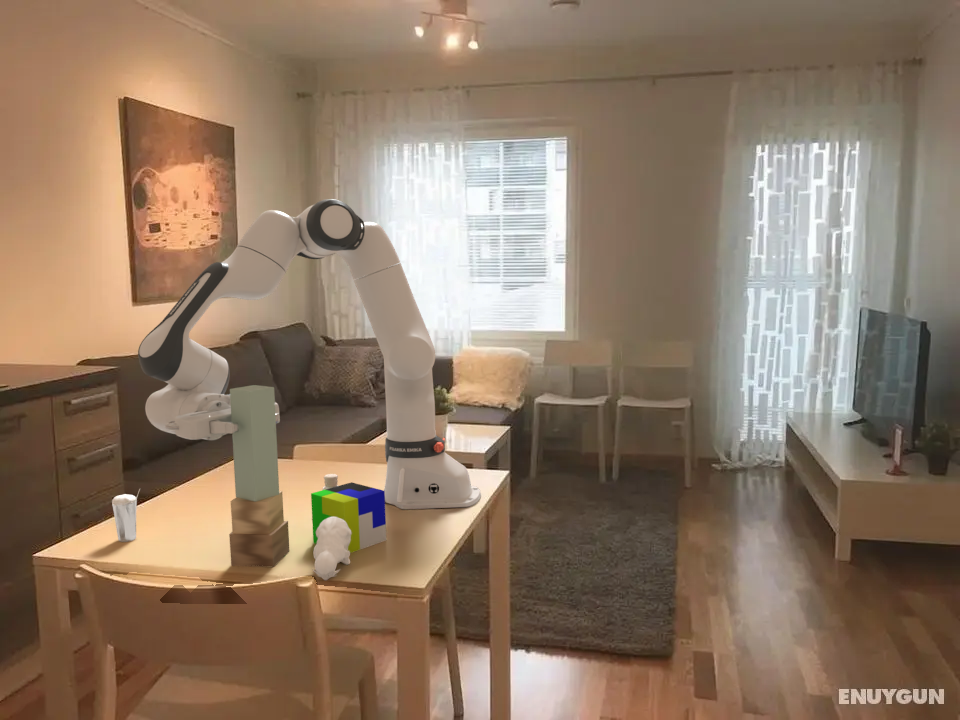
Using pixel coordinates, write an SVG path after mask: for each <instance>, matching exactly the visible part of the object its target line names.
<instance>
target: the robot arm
mask: <svg viewBox="0 0 960 720" xmlns="http://www.w3.org/2000/svg"><path fill="white" fill-rule="evenodd" d="M335 254H336V255H338V256H339V257H341V259H343V260H344V262H345V263H346V264H347V266H348V268H349V270H350V274H351V277H352V279H353V282H354V284H355V286H356V290H357V292H358V294H359V297H360V300H361V303H362V305H363V308H364V310H365V312H366V313H365V314H366V315H367V317H368V320H369V323H370V325H371V328H372V331H373V334H374V336H375V339H376V341H377V343H378V347H379V349H380V352H381V355H382V357H383V368H384V371H383V372H384V390H385V392H384V393H385V411H386V412H385V413H386V414H385V415H386V437H385V438H384V439H385V443H384V451H385V453H384V456H385V460H386V475H385V484H384V489H383V491H385V503H387V504H389V505H392V506H396V507H397V508H398V509H401V510H419V509H420V510H421V509H441V508H442V509H443V508H445V509H446V508H465V507H467V508H468V507H471V506H473V505H475V504H477V503H478V501H480V498H481V496H482V495H481V490H480V488H479V487H477V486H475V485H472V483H471V477H470V474H469V472H468V471H469V470H468V469H467V467H466V466H465V465H463V464H462V463H460V462H459V461H457V460H456V459H454V458H453V457H452V456H451V455H449V454H448V453H446V452H445V451H446V438H445V437H442V438H441V437H440V436H438V435H437V433H436V432H437V431H436V405H435V404H436V401H435V400H436V399H435V391H434V380H433V378H434V377H433V368H434V367H433V366H434V365H435V361H436V349H435V346H434V344H433V341H432V339H431V336H430V333H429V331H428V329H427V326H426V324H425V322H424V319H423V317H422V313H421V312H420V309H419V307H418V304H417V302H416V299H415V297H414V294H413V292H412V289H411V287H410V284H409V282H408V279H407V276H406V274H405V271H404V269H403V266H402V263H401V260H400V258H399V255H398V254H397V252H396V249H395V247H394V245H393V243H392V241H391V239H390V237H389V236H388V234H387V233H386V231H385V230H384V228H383V227H382V226H381V225H380V224H379V223H378V222H373V221H364V220H363V219H362V218H361V217H360V216H359V215H357V213H356V212H355V211H354V209H352V208H351V207H350V206H349V205H348V204H347V203H345V202H343V201H341V200H338V199H336V198H335V199H333V198H330V199H329V198H328V199H327V198H326V199H322V200H319V201H318V202H316V203H314V204H312V205H309V206H308V207H306V208H305V209H304V210H303V211H302V212H301V213H299V214H298V215H297V216H290V215H288V214H287V213H285V212H283V211H280V210H277V209H276V210H274V209H269V210H268V209H267V210H265V211H263V212H262V213H260V214H259V215H258V216H257V217H256V218H255V220H254V221H253V222H252V224H251V225H250V226H249V227H248V229H247V230H246V232H245V233H244V234H243V236H242V237H241V239H240V241H239V242H238V244H237V245H236V248H235V249H234V250H233V252H232V253H231V254H230V255H229V256H228V257H227V258H226V259H224V260H223V261H221V262H220V261H219V262H213V263H211V264H210V265H208V266H207V267H206V268H205V269H204V270H203V271H202V272H201V273H200V274H199V275H198V276H197V278H196V279H195V280H194V281H193V282H192V283H191V285H190V286H189V287H188V288H187V289H186V291H185V292H184V293H183V295H182V296H181V297H180V298H179V300H178V301H177V302H176V303H175V305H174V306H173V307H172V308H171V310H170V311H168V313H167V314H166V316H165V317H164V318H163V319H162V320H161V321H160V322H159V323H158V324H157V325H156V326H155V327H154V328H153V329H152V330H151V331H150V332H149V333H148V334H147V335H146V336H145V337H144V338H143V339H142V341H141V342H140V344H139V347H138V350H137V357H138V361H139V366H140V368H141V371H142V372H143V373H144V374H145V375H146V376H148V377H150V378H153V379H155V380H158V381H161V382H165V383H167V385H166V386H164V387H163V388H161V389H159V390H157V391H154V392H152V393H151V394H150V395H149V397H147V399H146V402H145V408H144V410H145V415H146V417H147V420H148V421H149V423H150V424H151V425H152V426H154V427H155V428H156V429H158V430H160V431H162V432H165V433H169V434H173V435H176V437H180V438H182V439H186V440H191V441H192V440H193V441H194V440H196V441H197V440H206V441H216V440H219V439H220V438H222V437H223V436H225V435H228V434H232V433H236V432H238V431H239V428H238V427H239V424H238V423H237V422H232V419H231V401H230V393H229V394H228V393H227V394H225V393H226V392H227V389H228V387H229V383H230V375H231V374H230V373H231V371H230V370H231V369H230V365H229V362H228V361H227V359H226V358H225V357H223V356H222V355H219V354H218V353H216V352H215V351H213V350H211V349H209V348H208V347H205V346H203V345H202V344H200V343H198V342H196V341H195V340H194V339H191V338H190V333H191V331H192V330H193V328H194V327H195V325H196V324H197V323H198V322H199V321H200V320H201V318H202V316H203V315H204V314H205V313H206V312H207V310H208V309H209V308H210V306H212V304H213V303H214V302H216V301H218V300H220V299H222V298H233V299H239V300H245V301H256V300H257V301H259V300H263V299H265V298H267V297H269V296H271V295H273V294H274V292H276V290H277V289H278V287H279V286H280V284H281V282H282V280H283V279H284V277H285V275H286V274H287V270H288V268H289V267H290V265H291V263H292V261H294V258H295V257H296V256H298V257H301V258H302V257H303V258H305V259H309V260H310V259H311V260H321V259H324V258H327V257H331V256H334V255H335ZM275 415H276V424H279V423H280V421H281V419H280V418H281V417H280V406H279V403H277V402H276V401H275Z"/></svg>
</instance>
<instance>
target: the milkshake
mask: <svg viewBox="0 0 960 720" xmlns="http://www.w3.org/2000/svg"><path fill="white" fill-rule="evenodd" d="M140 491H141V488H139V489H138V492H137V495H136V496H135V495H133V494H128V493H123V494H120V495H116V496H114V497H113V499H112V500H111V503H112V505H111V506H112V510H113V515H114V523H115V526H116V529H115V530H116V535H117V540H118V542H120V543H127V542H133V541H135V540H136V538H137V502H138V500H137V499H138V496H139V493H140Z"/></svg>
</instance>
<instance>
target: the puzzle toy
mask: <svg viewBox="0 0 960 720" xmlns="http://www.w3.org/2000/svg"><path fill="white" fill-rule="evenodd" d="M310 497H311V498H310V501H311V521H312V539H313V541H312V543H313V544H315V545H316V544H317V540H318V538H317V536H316V530H317V528H318V527H319V525H320V523H321V522H322V521H323V520H325V519H327V518H329V517H338V518H340V519H343V520H344V521H345V522H346V523H347V525H348V527H349V529H350V530H351V541H350V544H349V546H348V551H350V554H351V553H355V552H356V551H360V550H364V549H367V548H368V547H372V546H373V545H377V544H380V543H383V542H386V541H387V523H386V521H387V520H386V502H385V491H384V489H380V488H375V487H371V486H368V485H362V484H360V483H355V482H353V481H352V482H351V481H350V482H348V483H345V484H341V485H337V486H336V487H333V488H329V489H326V490H319V491H315V492H312V493H310Z"/></svg>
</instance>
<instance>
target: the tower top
mask: <svg viewBox="0 0 960 720" xmlns="http://www.w3.org/2000/svg"><path fill="white" fill-rule="evenodd" d="M283 499H284V498H283V490H279V495H276V496H272V497H269V498H266V499H263V500H259V501H256V502H255V501H250V500H246V499H242V498H238V497H236V496H235V498H233V499H232V500H231V501H230V513H231V529H232V531H231V533H233V534H271V533H272V532H273V531H274V530H275V529H276V528H278V527H279V526H280V525H281V524H282V523H283V522H284V521H285V519H284V501H283Z"/></svg>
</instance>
